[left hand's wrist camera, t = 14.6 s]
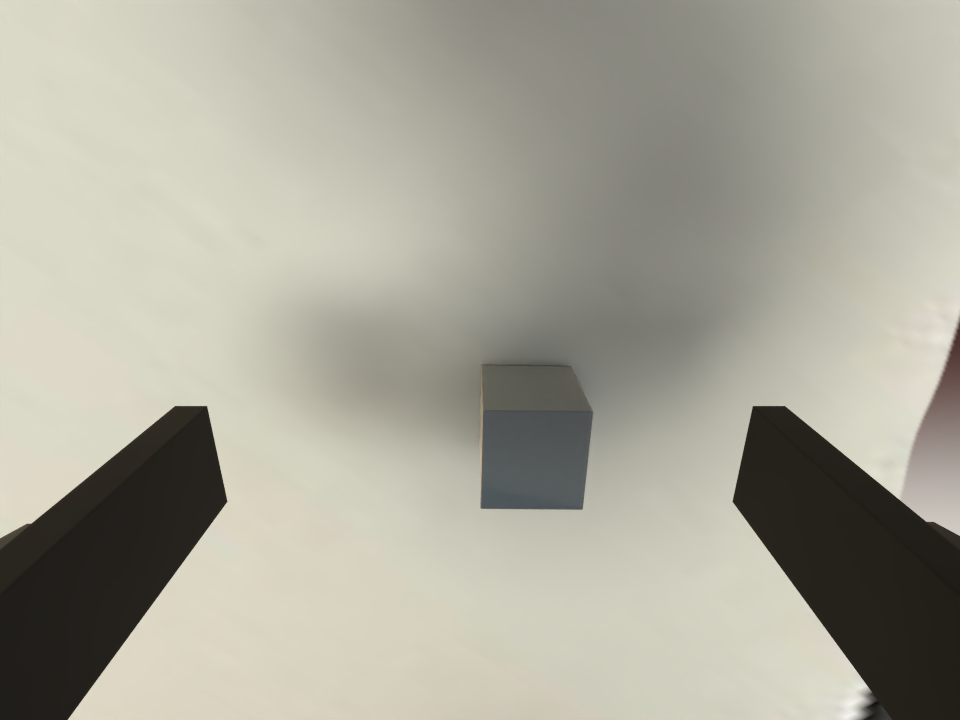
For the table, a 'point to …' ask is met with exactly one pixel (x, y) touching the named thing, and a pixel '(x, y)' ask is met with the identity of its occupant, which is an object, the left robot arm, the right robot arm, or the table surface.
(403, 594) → the table surface
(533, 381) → the brick
